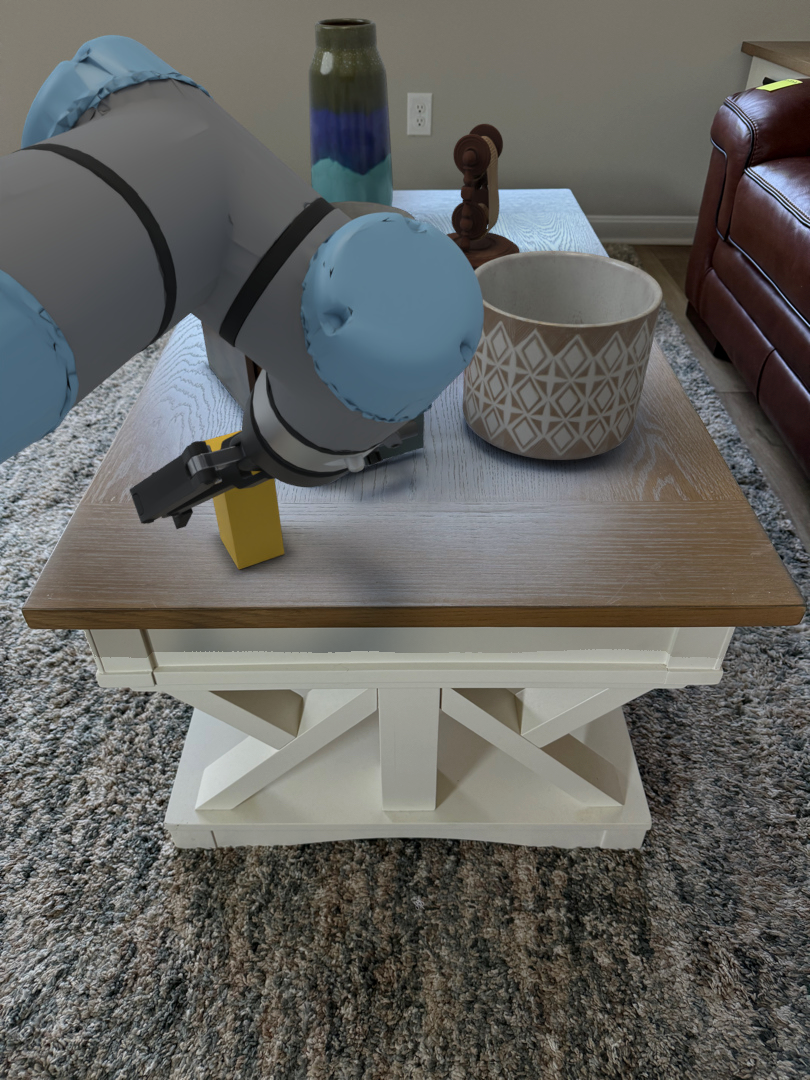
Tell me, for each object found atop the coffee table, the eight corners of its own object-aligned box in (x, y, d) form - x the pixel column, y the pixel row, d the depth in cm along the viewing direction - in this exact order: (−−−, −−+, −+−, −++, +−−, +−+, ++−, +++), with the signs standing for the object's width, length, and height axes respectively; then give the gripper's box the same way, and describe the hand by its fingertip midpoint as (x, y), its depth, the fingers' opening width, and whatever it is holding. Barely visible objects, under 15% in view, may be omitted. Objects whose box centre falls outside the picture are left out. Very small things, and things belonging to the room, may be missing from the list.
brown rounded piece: (505, 288, 120) (516, 145, 107) (414, 275, 124) (414, 136, 111) (527, 254, 130) (541, 121, 117) (443, 244, 134) (447, 113, 121)
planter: (666, 451, 85) (703, 307, 75) (507, 488, 80) (522, 339, 70) (576, 372, 99) (597, 241, 89) (435, 399, 94) (439, 263, 84)
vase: (302, 241, 135) (284, 26, 115) (331, 216, 145) (319, 14, 125) (379, 250, 132) (374, 30, 112) (403, 223, 142) (402, 17, 122)
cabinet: (369, 395, 95) (366, 312, 88) (255, 426, 89) (242, 340, 83) (313, 341, 106) (306, 263, 99) (208, 366, 101) (194, 286, 94)
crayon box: (238, 570, 71) (220, 470, 64) (220, 539, 74) (201, 440, 67) (284, 554, 73) (271, 455, 66) (265, 524, 76) (250, 427, 69)
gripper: (118, 541, 40) (118, 580, 60) (520, 416, 49) (405, 486, 69) (69, 403, 40) (85, 487, 60) (479, 305, 49) (376, 406, 69)
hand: (256, 487), depth 64 cm, fingers open, 13 cm apart
